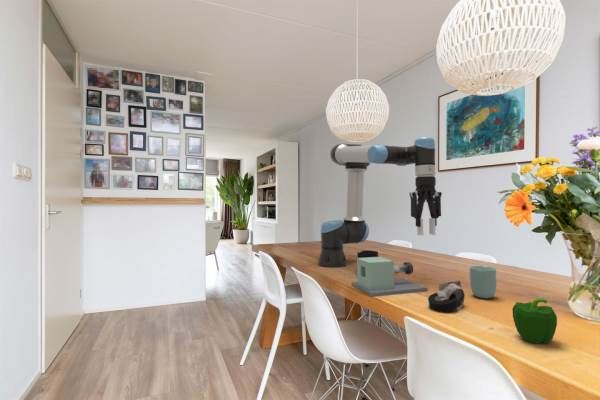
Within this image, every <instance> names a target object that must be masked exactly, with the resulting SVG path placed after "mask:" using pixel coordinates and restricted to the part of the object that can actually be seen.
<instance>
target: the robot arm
mask: <svg viewBox="0 0 600 400" xmlns="http://www.w3.org/2000/svg"><path fill="white" fill-rule="evenodd" d="M329 154H330V155H329V156H330V159H331V161H332V162H333V163H334V164H336V165H338V166H343V167H345V168H344V169H345V171H346V172H347V187H346V188H347V190H346V191H347V192H346V193H347V195H346V215H345V216H344V218H343V220H341V219H336V220H335V219H334V220H328V221H324V222H322V224H321V225H320V226H321V228H320V235H321V236H320V239H321V240H320V243H321V244H320V245H321V251H320V254H319V257H318V261H317V262H318V266H320V267H324V268H325V267H327V268H338V267H339V268H341V267H345V266H347V262H348V260H347V257H346V255H345V251H344V245H348V244H359V243H364V242H365V241H366V240H367V239H368V238H369V233H370V227H369V225H368V223H367V222H366V219H365V217H363V203H364V198H363V197H364V181H365V179H364V177H365V175H364V174H365V172H367V170H368V167H369V166H370V165H371V164H377V165H378V164H381V165H382V164H383V165H384V164H385V165H396V166H397V167H400V166H401V167H402V166H403V167H404V166H408V165H413V164H414V176H415V187H416V188H415V190H414V191H411V192H409V193H408V194H409V198H410V217H411V218H413V219H415V227H416V229H417V230H416V232H417V233H416V234H417V236H424V218H422V215H423V210H424V205H425V202H426V203H427V207H428V211H429V215H430V217H429V219H428V225H429V227H428V229H429V230H428V231H429V233H428V234H429V235H432V236H435V235H436V227H437V225H438V224H437V223H438V221H437V219H439V217H441V216H442V203H441V198H442V194H443V193H442V192H441V191H437V189H436V183H437V182H436V181H437V180H436V177H435V176H436V141H435V139H434V138H433V137H430V136H424V137H417V138H416V139H415V140H414V144H413V145H410V146H399V145H398V146H396V145H395V146H394V145H383V144H373V145H365V144H364V145H363V144H355V143H352V144H351V143H338V144H336V145H334V146H333V147H332V148H331V149H330V153H329Z"/></svg>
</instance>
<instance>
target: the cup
mask: <svg viewBox="0 0 600 400" xmlns="http://www.w3.org/2000/svg"><path fill="white" fill-rule="evenodd" d="M497 277H498V276H497V269H496V268H495V267H493V266H487V265H470V267H469V282H470V283H469V285H470V291H471V293H472V294H473V295H474V296H475V297H476V298H479V299H484V300H485V299H492V298H494V297H495V296H496V293H497Z"/></svg>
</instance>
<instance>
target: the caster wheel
mask: <svg viewBox="0 0 600 400" xmlns="http://www.w3.org/2000/svg"><path fill="white" fill-rule="evenodd" d="M461 283H462V282H461V280H456V281H448V282H444V283H443V282H442V283H439V284H437V285H438V291H435V292H434V293H432V294H430V295H429V296H428V297H427V300H428V306H429V308H430V309H431V310H432V311H435V312H439V313H448V312H451V311H458V310H461V309H462V307H463V306H464V302H465V291H464V290H463V288H462V284H461Z"/></svg>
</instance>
